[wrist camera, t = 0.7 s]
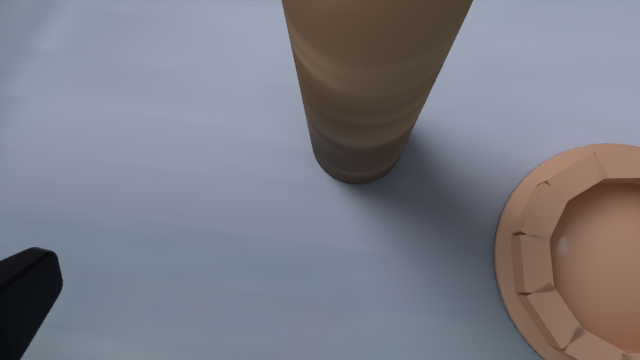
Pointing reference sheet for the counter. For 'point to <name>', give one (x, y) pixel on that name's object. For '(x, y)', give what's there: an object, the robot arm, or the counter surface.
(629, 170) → the collar dish
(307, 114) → the dowel
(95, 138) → the counter surface
